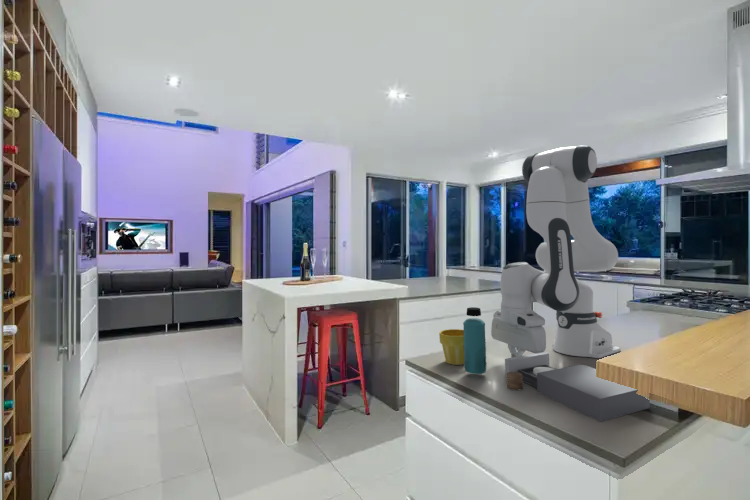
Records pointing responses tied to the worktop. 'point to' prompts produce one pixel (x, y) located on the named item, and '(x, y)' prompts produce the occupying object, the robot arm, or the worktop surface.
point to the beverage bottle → (474, 343)
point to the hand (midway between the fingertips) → (516, 360)
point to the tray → (527, 366)
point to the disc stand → (514, 381)
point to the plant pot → (453, 345)
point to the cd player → (590, 392)
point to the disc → (541, 370)
